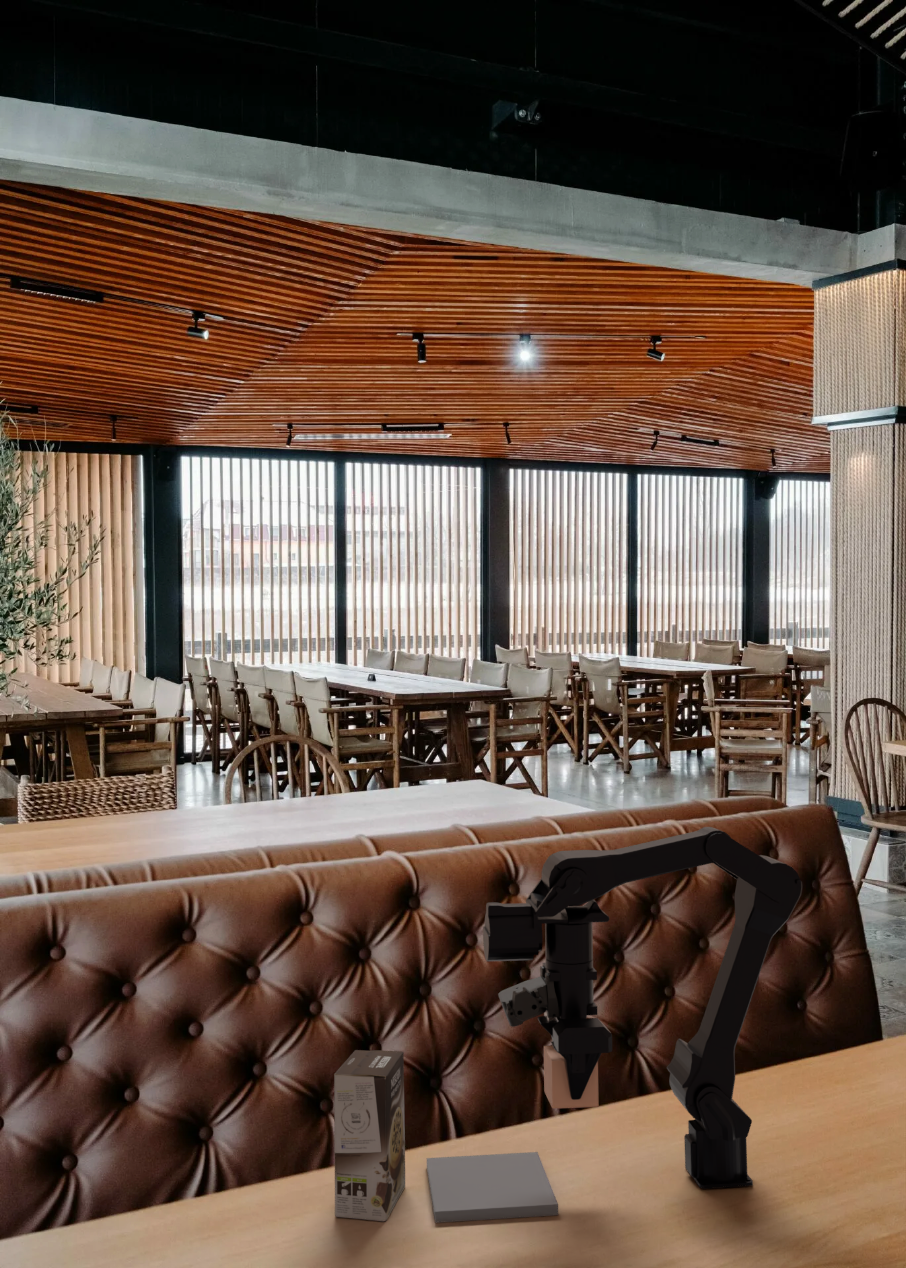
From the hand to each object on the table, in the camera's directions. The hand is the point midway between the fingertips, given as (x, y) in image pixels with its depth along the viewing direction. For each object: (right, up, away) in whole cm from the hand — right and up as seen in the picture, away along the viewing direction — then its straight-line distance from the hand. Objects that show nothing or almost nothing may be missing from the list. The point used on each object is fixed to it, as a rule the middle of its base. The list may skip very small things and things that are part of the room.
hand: (570, 1090), depth 131 cm
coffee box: (-24, -12, -4) cm, 27 cm away
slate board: (-10, -11, -2) cm, 15 cm away
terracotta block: (0, -1, 0) cm, 1 cm away
